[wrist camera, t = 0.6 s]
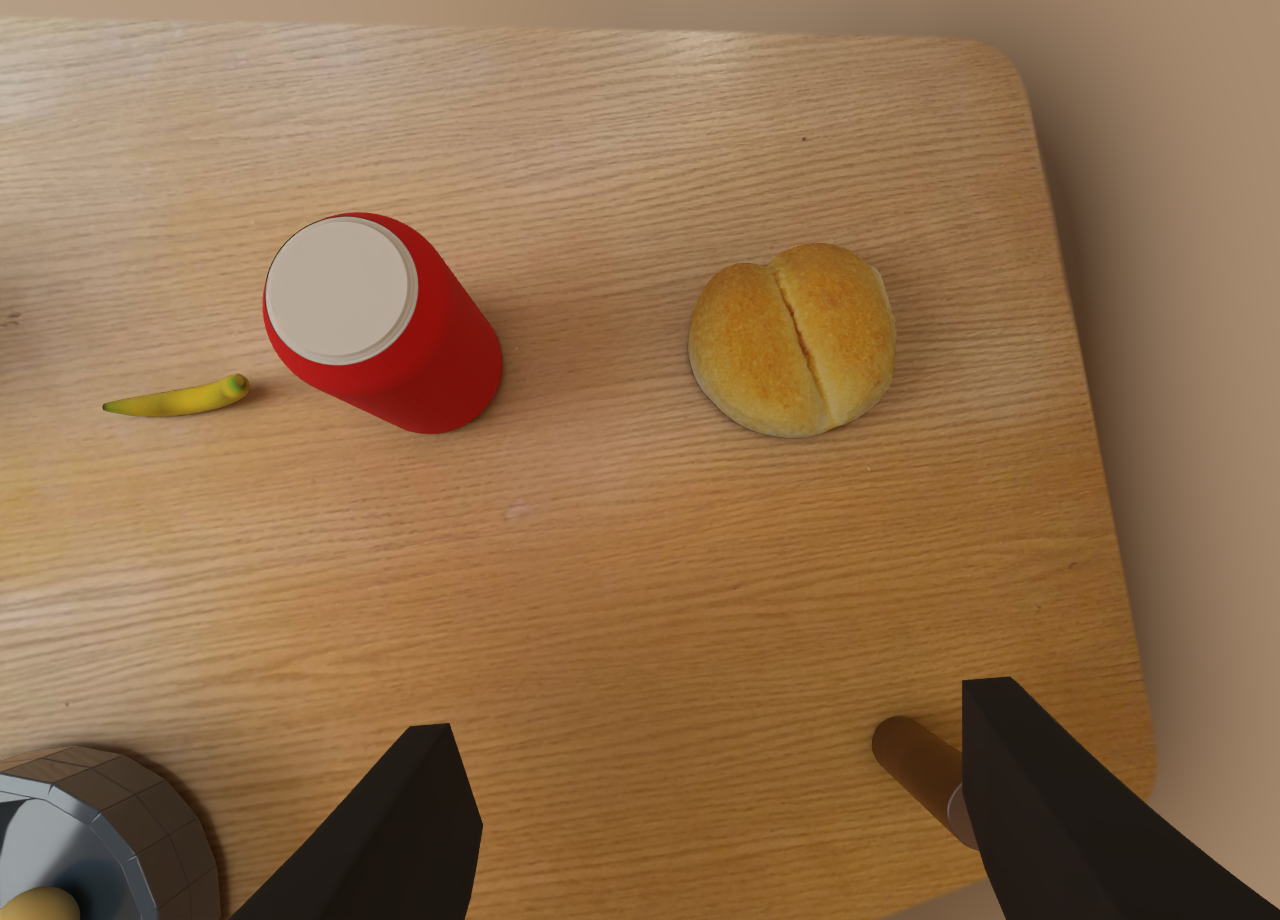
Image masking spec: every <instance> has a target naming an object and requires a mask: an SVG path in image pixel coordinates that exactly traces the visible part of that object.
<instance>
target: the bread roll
mask: <svg viewBox="0 0 1280 920" xmlns="http://www.w3.org/2000/svg"><path fill="white" fill-rule="evenodd" d="M895 324H896V319H895V318H894V316H893V315H892V312H891V306H890V303H889V299H888V296H887V293H886V291H885V286H884V283H883V280H882V277H881V276H880V273H879V272H878V270H877V268H876V267H875V266H871V265H868V264H867V263H865V262H864V261H863V260H862V259H861V258H860V257H858V256H857V255H855V254H854V253H852V252H851V251H849V250H847V249H845V248H842V247H839V246H836V245H831V244H825V243H812V244H804V245H800V246H797V247H794V248H792V249H790V250H787V251H785V252H783V253H781V254H780V255H779V256H778V257H776V258H775V259H774V260H772V261H771V262H770V263H769V264H768V265H766V266H764V267H762V266H759V265H756V264H750V263H740V264H734V265H732V266H729V267H726V268H724V269H722V270H721V271H719V272H718V273H717V274H716V275H715V276H714V277H713V278H712V279H711V280H710V281H709V282H708V284H707V286H706V287H705V289H704V290H703V292H702V294H701V296H700V297H699V299H698V301H697V304H696V306H695V309H694V311H693V315H692V320H691V325H690V331H689V339H688V353H689V359H690V362H691V366H692V370H693V373H694V375H695V378H696V380H697V382H698V384H699V386H700V387H701V389H702V390H703V392H704V393H705V394H706V395H707V396H708V397H709V398H710V400H711V401H712V402H713V403H715V405H716V406H717V407H718V408H719V409H720V410H721V411H722V412H723V413H725V414H726V415H727V416H728V417H730V418H731V419H732V420H733V421H734V422H736V423H738V424H740V425H742V426H744V427H746V428H748V429H750V430H753V431H755V432H758V433H762V434H766V435H772V436H773V437H774V436H779V437H787V438H805V437H812V436H815V435H819V434H821V433H824V432H826V431H828V430H830V429H832V428H836V427H839V426H841V425H844V424H847V423H849V422H851V421H853V420H855V419H857V418H858V417H860V416H861V415H863V414H864V413H866V412H867V411H868V410H870V409H871V408H872V407H873V406H874V405H875V404H876V403H877V402H878V401H879V400H880V399H881V398H882V396H883V395H884V394H885V393H886V392H887V391H888V389H889V387H890V385H891V381H892V377H893V373H894V370H895V368H894V364H895V357H896V356H895V354H896V341H895V339H896V328H895Z"/></svg>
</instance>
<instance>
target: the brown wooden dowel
mask: <svg viewBox="0 0 1280 920" xmlns="http://www.w3.org/2000/svg"><path fill="white" fill-rule="evenodd" d="M872 748H873V753H874V755H875V758H876V760H877V761H878V763H879V764H880V765H881V766H882V767H883V768H884V769H885V770H886V771H887V772H888V773H889V774H890V775H892V776H893V777H894V778H895V779H896V780H897V781H898V782H899V783H900V784H901V785H902V786H903V787H904V788H905V789H906V790H907V791H908V792H909V793H910V794H911V795H912V796H913V797H914V798H915V799H917V800H918V801H919V802H920V803H921V804H922V805H923V806H924V807H925V808H926V809H927V810H928V811H929V812H930V813H931V814H932V815H933V816H934V817H935V818H936V819H937V820H938V821H939V822H940V823H942V824H943V825H944V826H945V827H946V828H947V829H948V830H949V831H950V832H951V833H952V834H953V835H954V836H955V837H956V838H957V839H958V840H959V841H960V842H962V843H963V844H964V845H966V846H967V847H969V848H972V849H974V850H978V851H979V848H978V845H977V841H976V838H975V835H974V832H973V828H972V825H971V821H970V818H969V814H968V811H967V808H966V804H965V801H964V797H963V794H962V753H961V752H960V751H958V750H957V749H955V748H954V747H952V746H951V745H949V744H948V743H946V742H945V741H943V740H942V739H940V738H939V737H937V736H936V735H935V734H933V733H932V732H930V731H929V730H927V729H926V728H924V727H923V726H921V725H920V724H918V723H917V722H915V721H914V720H912V719H910V718H907V717H892V718H889V719H887V720H885V721H884V722H882V723H881V724H880V725H879V726H878V728H877V729H876V731H875V733H874V736H873V741H872Z"/></svg>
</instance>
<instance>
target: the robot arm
mask: <svg viewBox="0 0 1280 920" xmlns="http://www.w3.org/2000/svg"><path fill="white" fill-rule="evenodd" d="M962 794H963V797H964V801H965V804H966V808H967V811H968V814H969V818H970V821H971V825H972V828H973V832H974V835H975V838H976V841H977V845H978V848H979V851H980V854H981V858H982V861H983V864H984V867H985V870H986V873H987V875H988V877H989V880H990V882H991V885H992V887H993V889H994V892H995V894H996V897H997V899H998V901H999V904H1000V906H1001V909H1002V911H1003V913H1004V916H1005V918H1006V920H1280V910H1279V909H1278V908H1277V907H1275V906H1274V905H1273V904H1271V903H1270V902H1268V901H1267V900H1266V899H1264V898H1263V897H1261V896H1260V895H1259V894H1258V893H1256V892H1255V891H1254V890H1252V889H1251V888H1250V887H1248V886H1247V885H1246V884H1244V883H1243V882H1241V881H1240V880H1239V879H1238V878H1236V877H1235V876H1234V875H1232V874H1231V873H1230V872H1229V871H1227V870H1226V869H1225V868H1223V867H1222V866H1221V865H1220V864H1218V863H1217V862H1216V861H1214V860H1213V859H1212V858H1211V857H1210V856H1208V855H1207V854H1206V853H1205V852H1203V851H1202V850H1201V849H1200V848H1198V847H1197V846H1196V845H1195V844H1194V843H1192V842H1191V841H1190V840H1189V839H1187V838H1186V837H1185V836H1183V834H1181V833H1180V832H1179V831H1178V830H1176V829H1175V828H1174V827H1173V826H1171V825H1170V824H1169V823H1168V822H1167V821H1166V820H1164V819H1163V818H1162V817H1161V816H1160V815H1159V814H1157V813H1156V812H1155V811H1154V810H1153V809H1152V808H1150V807H1149V806H1148V805H1147V804H1146V803H1145V802H1144V801H1142V800H1141V799H1140V798H1139V797H1138V796H1137V795H1136V794H1135V793H1133V792H1132V791H1131V790H1130V789H1129V788H1128V787H1127V786H1126V785H1124V784H1123V783H1122V782H1121V781H1120V780H1119V779H1118V778H1117V777H1115V776H1114V775H1113V774H1112V773H1111V772H1110V771H1109V770H1108V769H1106V768H1105V767H1104V766H1103V765H1102V764H1101V763H1100V762H1099V761H1098V760H1097V759H1096V758H1095V757H1093V756H1092V755H1091V754H1090V753H1089V752H1088V751H1087V750H1086V749H1085V748H1084V747H1083V746H1082V745H1081V744H1080V743H1079V742H1078V741H1077V740H1075V739H1074V738H1073V737H1072V736H1071V735H1070V734H1069V733H1068V732H1067V731H1066V730H1065V729H1064V728H1063V727H1062V726H1061V725H1060V724H1059V723H1058V722H1057V721H1056V720H1055V719H1054V718H1053V717H1052V716H1051V715H1050V714H1049V713H1048V712H1047V711H1046V710H1045V709H1044V708H1042V707H1041V706H1040V705H1039V704H1038V703H1037V702H1036V701H1035V700H1034V699H1033V698H1032V697H1031V696H1030V695H1029V694H1028V693H1027V692H1026V691H1025V690H1024V689H1023V688H1022V687H1021V686H1020V685H1019V684H1018V683H1017V682H1016V681H1015V680H1014V679H1012V678H1011V677H997V678H985V679H973V680H962ZM482 829H483V823H482V820H481V817H480V814H479V811H478V808H477V805H476V802H475V799H474V796H473V793H472V790H471V787H470V784H469V781H468V778H467V775H466V772H465V769H464V766H463V763H462V760H461V757H460V754H459V751H458V748H457V745H456V742H455V739H454V736H453V733H452V729H451V726H450V723H444V724H432V725H420V726H410V727H409V728H408V729H407V730H406V731H405V732H404V733H403V734H402V735H401V736H400V737H399V738H398V739H397V741H396V742H395V743H394V744H393V745H392V746H391V747H390V748H389V749H388V750H387V752H386V753H385V754H384V755H383V756H382V757H381V758H380V759H379V761H378V762H377V763H376V764H375V765H374V766H373V767H372V768H371V770H370V771H369V772H368V773H367V774H366V775H365V776H364V778H363V779H362V780H361V781H360V782H359V783H358V784H357V785H356V787H355V788H354V789H353V790H352V791H351V792H350V793H349V794H348V795H347V797H346V798H345V799H344V800H343V801H342V802H341V803H340V804H339V805H338V806H337V808H336V809H335V810H334V811H333V812H332V813H331V814H330V815H329V816H328V817H327V818H326V820H325V821H324V822H323V823H322V824H321V825H320V826H319V827H318V828H317V829H316V831H315V832H314V833H313V834H312V835H311V836H310V837H309V838H308V839H307V840H306V841H305V842H304V844H303V845H302V846H301V847H300V848H299V849H298V850H297V851H296V852H295V853H294V854H293V855H292V856H291V857H290V858H289V859H288V860H287V861H286V862H285V863H284V864H283V865H282V866H281V867H280V868H279V869H278V870H277V871H276V872H275V873H274V874H273V875H272V876H271V877H270V878H269V879H268V880H267V881H266V882H265V883H264V884H263V885H262V886H261V887H260V888H259V889H258V890H257V891H256V892H255V893H254V894H253V895H252V896H251V897H250V898H249V899H248V900H247V901H246V903H245V904H244V905H243V906H242V907H240V908H239V909H238V910H237V911H236V912H235V913H234V914H233V915H232V916H231V917H230V918H229V919H228V920H465V916H466V913H467V909H468V906H469V902H470V898H471V893H472V888H473V883H474V877H475V872H476V867H477V861H478V854H479V848H480V842H481V835H482Z"/></svg>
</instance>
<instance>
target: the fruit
mask: <svg viewBox="0 0 1280 920" xmlns="http://www.w3.org/2000/svg"><path fill="white" fill-rule="evenodd" d="M249 387H250V385H249V381H248V379H247V378H246V377H244V376H243V375H241V374H236V375H231V376H228V377H226V378H224V379H222V380H220V381H218V382H215V383H211V384H207V385H203V386H198V387H192V388H186V389H180V390H174V391H168V392H162V393H156V394H150V395H144V396H138V397H133V398H127V399H122V400H117V401H113V402H109V403H105V404H104V405H103V410H105V411H108V412H113V413H118V414H125V415H133V416H147V417H164V416H178V415H187V414H193V413H199V412H204V411H209V410H213V409H217V408H220V407H223V406H226V405H229V404H231V403H234V402H236V401H238V400H240V399H242V398H243V397H244V396H245V395H246V394H247V393H248V391H249Z"/></svg>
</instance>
